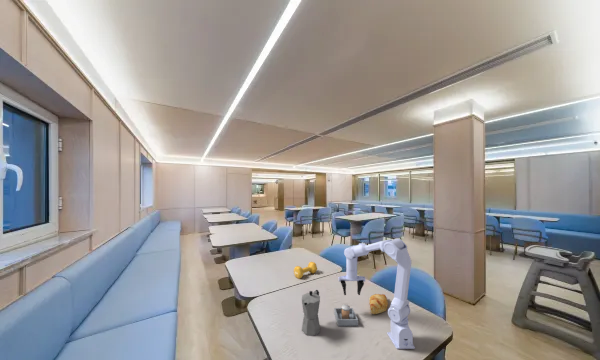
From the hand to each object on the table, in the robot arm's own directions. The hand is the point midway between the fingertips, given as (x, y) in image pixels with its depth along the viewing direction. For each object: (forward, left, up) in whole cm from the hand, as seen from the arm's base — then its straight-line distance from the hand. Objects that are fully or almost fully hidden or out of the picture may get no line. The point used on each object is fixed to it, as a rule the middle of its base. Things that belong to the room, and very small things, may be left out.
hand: (351, 294), depth 112 cm
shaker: (-6, +5, -9) cm, 12 cm away
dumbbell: (+48, +23, -10) cm, 55 cm away
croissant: (+6, -17, -10) cm, 21 cm away
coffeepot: (-12, +23, -10) cm, 28 cm away
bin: (-6, +5, -10) cm, 12 cm away
